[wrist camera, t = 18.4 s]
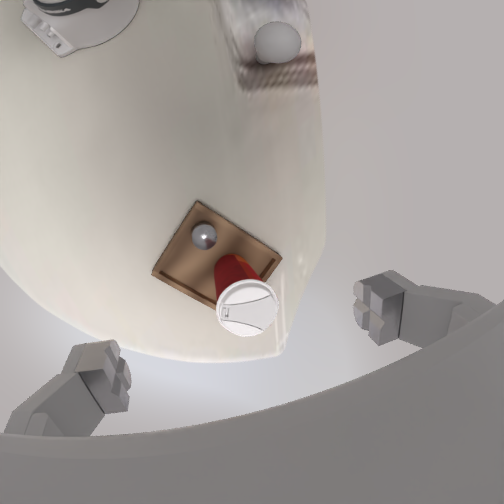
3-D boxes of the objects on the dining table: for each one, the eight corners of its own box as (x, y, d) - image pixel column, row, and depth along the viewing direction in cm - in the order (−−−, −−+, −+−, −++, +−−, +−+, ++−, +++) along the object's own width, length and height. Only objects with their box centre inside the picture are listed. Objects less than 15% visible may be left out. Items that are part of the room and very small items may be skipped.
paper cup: (205, 290, 48) (214, 339, 35) (209, 245, 46) (220, 282, 33) (251, 292, 50) (275, 339, 37) (258, 248, 48) (287, 285, 35)
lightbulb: (267, 36, 38) (291, 9, 28) (288, 66, 40) (317, 45, 30) (235, 51, 38) (250, 24, 28) (256, 82, 40) (278, 63, 30)
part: (186, 236, 45) (187, 241, 42) (200, 216, 45) (201, 220, 42) (206, 248, 46) (208, 254, 43) (219, 229, 46) (222, 234, 43)
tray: (152, 269, 46) (151, 274, 44) (196, 200, 44) (197, 202, 42) (234, 314, 52) (236, 321, 50) (278, 254, 50) (282, 258, 48)
